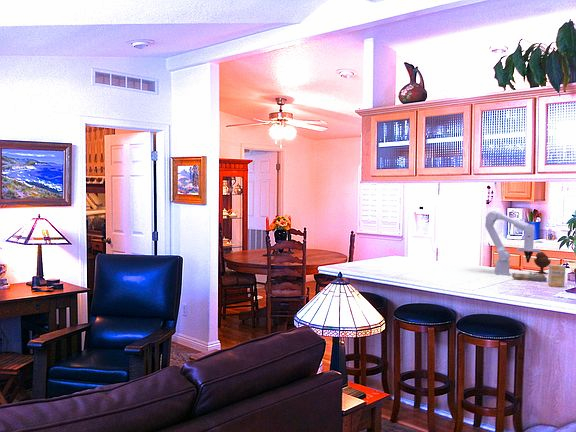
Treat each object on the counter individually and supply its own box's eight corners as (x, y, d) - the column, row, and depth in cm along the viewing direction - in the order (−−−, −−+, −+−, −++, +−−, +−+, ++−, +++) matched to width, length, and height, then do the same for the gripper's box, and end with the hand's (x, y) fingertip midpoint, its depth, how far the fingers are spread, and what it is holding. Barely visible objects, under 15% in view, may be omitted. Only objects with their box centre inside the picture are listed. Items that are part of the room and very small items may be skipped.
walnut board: (514, 279, 368) (514, 276, 368) (512, 276, 382) (512, 273, 381) (530, 280, 365) (530, 277, 365) (528, 277, 379) (528, 274, 379)
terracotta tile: (536, 279, 369) (536, 275, 369) (535, 278, 373) (535, 274, 373) (542, 279, 368) (542, 275, 368) (541, 278, 372) (542, 274, 372)
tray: (531, 280, 365) (531, 277, 365) (528, 277, 379) (528, 273, 379) (546, 281, 362) (546, 278, 362) (543, 278, 376) (543, 274, 376)
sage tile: (528, 275, 370) (531, 272, 369) (527, 274, 374) (530, 271, 373) (533, 279, 369) (536, 276, 369) (532, 278, 373) (535, 275, 373)
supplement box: (550, 286, 346) (551, 265, 345) (547, 285, 351) (549, 264, 350) (564, 287, 345) (565, 265, 344) (561, 285, 350) (563, 264, 349)
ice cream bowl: (548, 275, 389) (549, 253, 388) (531, 273, 396) (532, 252, 395) (551, 273, 397) (553, 252, 396) (535, 271, 404) (536, 250, 403)
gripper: (517, 242, 380) (516, 262, 381) (541, 243, 376) (540, 264, 377) (517, 241, 387) (515, 261, 388) (540, 242, 382) (538, 262, 383)
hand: (527, 262), depth 383 cm, fingers closed
